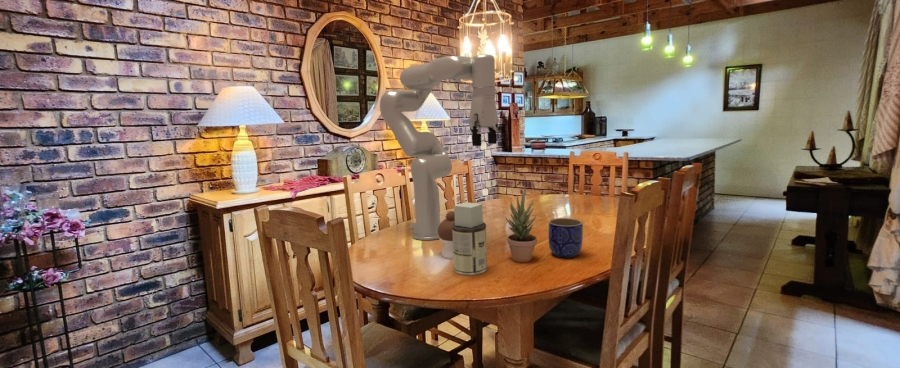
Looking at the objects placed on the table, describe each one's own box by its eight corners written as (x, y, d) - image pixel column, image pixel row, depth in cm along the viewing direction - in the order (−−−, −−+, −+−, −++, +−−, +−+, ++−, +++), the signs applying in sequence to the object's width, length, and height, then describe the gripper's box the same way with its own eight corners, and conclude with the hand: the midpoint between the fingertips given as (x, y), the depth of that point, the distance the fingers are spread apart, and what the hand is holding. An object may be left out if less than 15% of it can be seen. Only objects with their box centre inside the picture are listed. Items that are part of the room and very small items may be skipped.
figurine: (438, 259, 148) (437, 215, 146) (438, 251, 158) (436, 209, 155) (468, 258, 149) (467, 213, 147) (466, 249, 158) (464, 207, 156)
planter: (546, 250, 155) (546, 218, 153) (578, 249, 154) (578, 217, 153) (551, 260, 144) (551, 226, 143) (586, 259, 144) (586, 225, 142)
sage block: (454, 225, 136) (454, 205, 135) (466, 221, 140) (465, 202, 140) (471, 227, 132) (471, 207, 131) (482, 223, 137) (482, 204, 136)
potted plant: (530, 265, 140) (530, 186, 136) (502, 261, 145) (501, 185, 141) (542, 256, 148) (542, 182, 144) (515, 252, 153) (514, 180, 149)
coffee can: (459, 262, 145) (457, 219, 143) (490, 265, 142) (489, 221, 139) (448, 273, 135) (447, 227, 133) (481, 276, 132) (480, 229, 130)
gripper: (487, 94, 160) (488, 142, 163) (459, 93, 146) (461, 146, 149) (506, 93, 156) (507, 143, 158) (479, 92, 142) (480, 147, 145)
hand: (484, 144), depth 154 cm, fingers open, 9 cm apart
